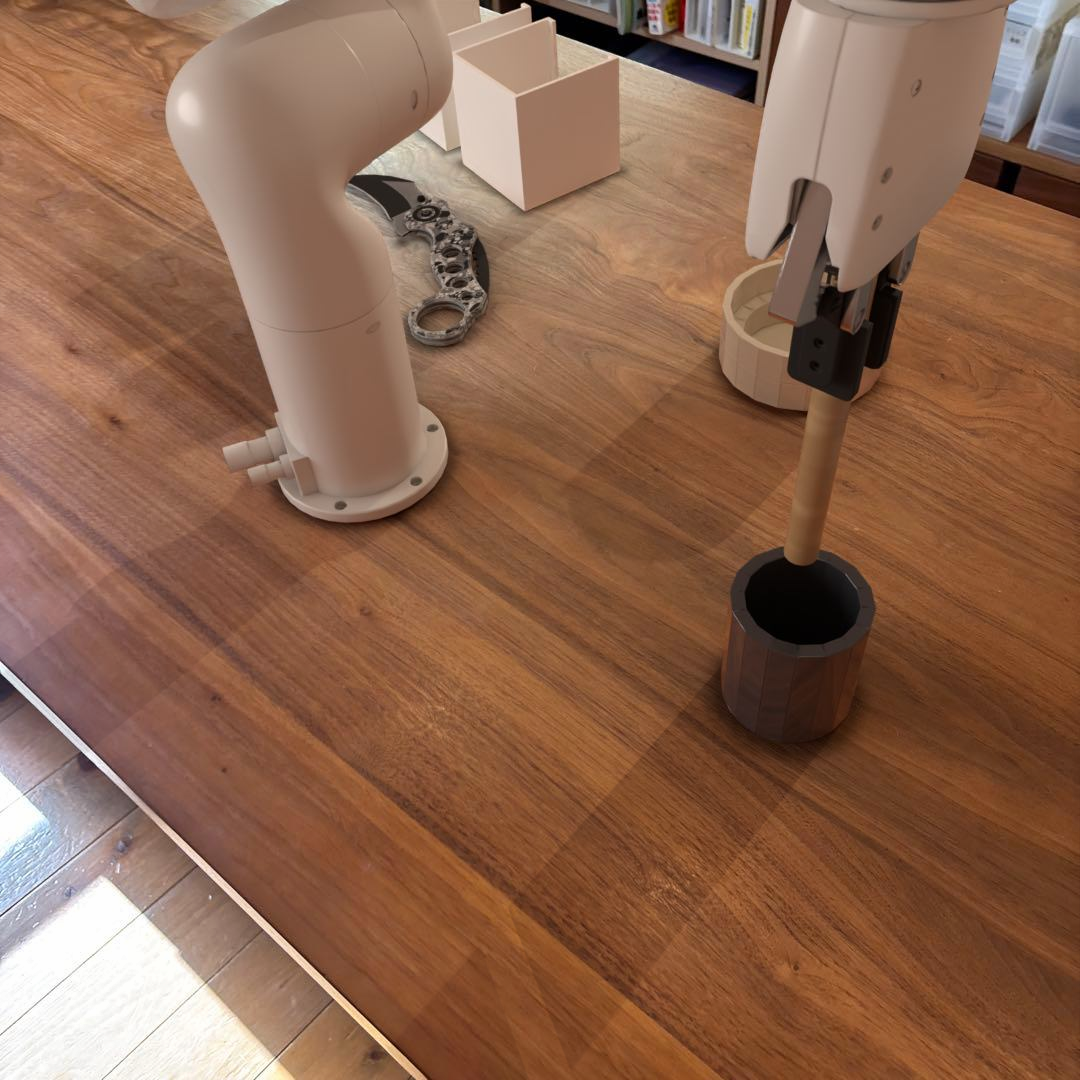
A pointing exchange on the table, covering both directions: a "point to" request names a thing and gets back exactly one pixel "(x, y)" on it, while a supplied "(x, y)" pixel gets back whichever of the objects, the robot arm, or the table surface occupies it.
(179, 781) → the table surface
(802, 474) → the stirring stick
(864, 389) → the bowl
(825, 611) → the utensil pot
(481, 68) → the open boxes
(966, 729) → the table surface
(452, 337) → the knife
